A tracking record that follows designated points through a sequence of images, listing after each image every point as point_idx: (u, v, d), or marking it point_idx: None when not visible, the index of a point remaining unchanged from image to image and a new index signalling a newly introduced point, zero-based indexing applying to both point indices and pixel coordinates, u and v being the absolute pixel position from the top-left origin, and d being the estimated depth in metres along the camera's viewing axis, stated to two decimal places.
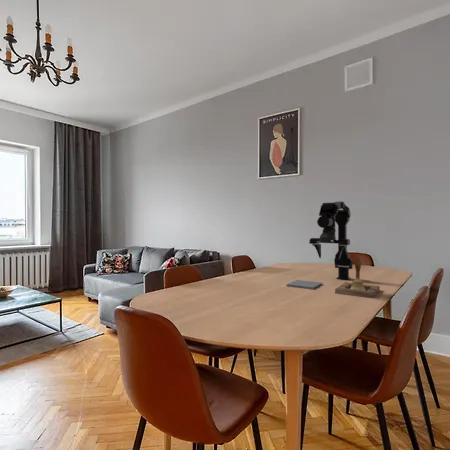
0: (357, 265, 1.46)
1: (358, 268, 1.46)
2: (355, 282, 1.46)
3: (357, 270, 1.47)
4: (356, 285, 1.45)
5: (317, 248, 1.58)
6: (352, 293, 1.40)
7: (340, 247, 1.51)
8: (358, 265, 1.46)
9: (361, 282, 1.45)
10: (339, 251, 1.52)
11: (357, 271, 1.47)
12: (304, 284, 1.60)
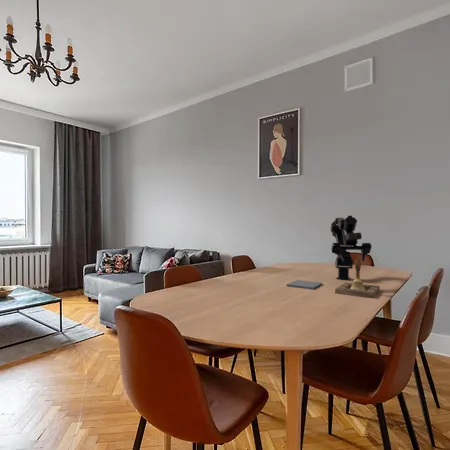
0: (357, 265, 1.46)
1: (358, 268, 1.46)
2: (355, 282, 1.46)
3: (357, 270, 1.47)
4: (356, 285, 1.45)
5: (341, 251, 1.58)
6: (352, 293, 1.40)
7: (365, 249, 1.57)
8: (358, 265, 1.46)
9: (361, 282, 1.45)
10: (363, 253, 1.56)
11: (357, 271, 1.47)
12: (304, 284, 1.60)
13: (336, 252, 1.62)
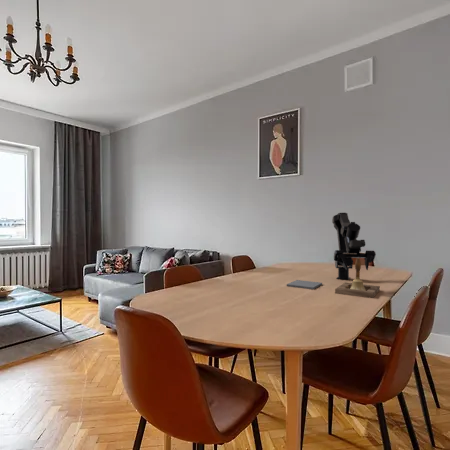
0: (357, 265, 1.46)
1: (358, 268, 1.46)
2: (355, 282, 1.46)
3: (357, 270, 1.47)
4: (356, 285, 1.45)
5: (343, 259, 1.52)
6: (352, 293, 1.40)
7: (368, 256, 1.50)
8: (358, 265, 1.46)
9: (361, 282, 1.45)
10: (367, 261, 1.50)
11: (357, 271, 1.47)
12: (304, 284, 1.60)
13: (339, 260, 1.55)
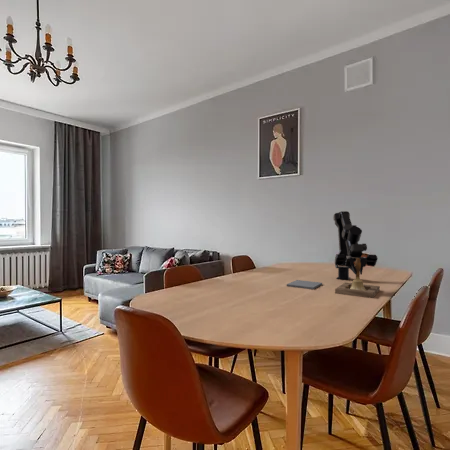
0: (357, 265, 1.46)
1: (358, 268, 1.46)
2: (355, 282, 1.46)
3: (357, 270, 1.47)
4: (356, 285, 1.45)
5: (352, 263, 1.49)
6: (352, 293, 1.40)
7: (362, 261, 1.48)
8: (358, 265, 1.46)
9: (361, 282, 1.45)
10: (361, 265, 1.47)
11: (357, 271, 1.47)
12: (304, 284, 1.60)
13: (347, 264, 1.52)
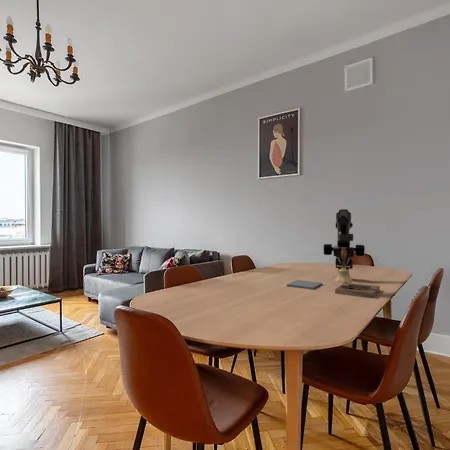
0: (342, 255, 1.48)
1: (343, 258, 1.48)
2: (340, 271, 1.48)
3: (343, 260, 1.49)
4: (341, 274, 1.48)
5: (339, 253, 1.51)
6: (352, 293, 1.40)
7: (349, 251, 1.49)
8: (343, 255, 1.48)
9: (346, 271, 1.47)
10: (347, 255, 1.49)
11: (343, 261, 1.49)
12: (304, 284, 1.60)
13: (335, 254, 1.54)
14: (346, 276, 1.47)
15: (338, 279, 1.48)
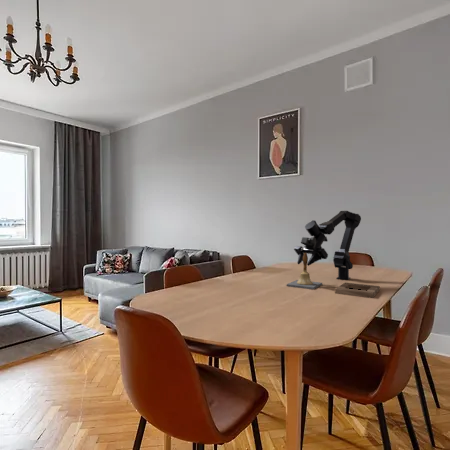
0: (303, 259, 1.62)
1: (303, 262, 1.62)
2: (300, 274, 1.62)
3: (303, 263, 1.62)
4: (300, 277, 1.62)
5: (299, 254, 1.66)
6: (352, 293, 1.40)
7: (313, 253, 1.59)
8: (303, 259, 1.62)
9: (304, 274, 1.60)
10: (311, 257, 1.59)
11: None
12: None
13: None
14: (303, 279, 1.60)
15: (298, 281, 1.63)
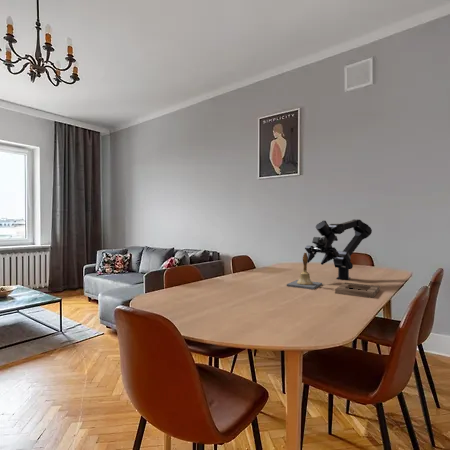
0: (303, 259, 1.62)
1: (303, 262, 1.62)
2: (300, 274, 1.62)
3: (303, 263, 1.62)
4: (300, 277, 1.62)
5: (309, 253, 1.72)
6: (352, 293, 1.40)
7: (326, 252, 1.63)
8: (303, 259, 1.61)
9: (304, 274, 1.60)
10: (324, 256, 1.63)
11: None
12: None
13: None
14: (303, 279, 1.60)
15: (298, 281, 1.63)
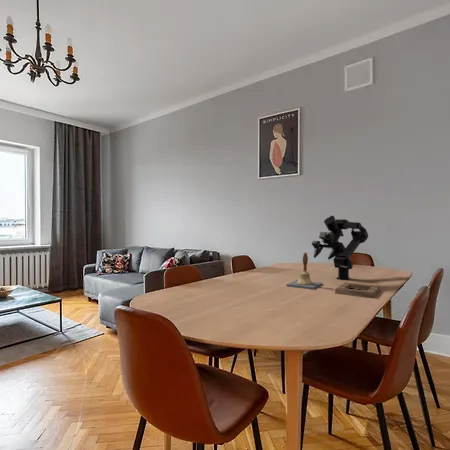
0: (303, 259, 1.62)
1: (303, 262, 1.62)
2: (300, 274, 1.62)
3: (303, 263, 1.62)
4: (300, 277, 1.62)
5: (315, 248, 1.73)
6: (352, 293, 1.40)
7: (333, 247, 1.63)
8: (303, 259, 1.61)
9: (304, 274, 1.60)
10: (331, 251, 1.64)
11: None
12: None
13: None
14: (303, 279, 1.60)
15: (298, 281, 1.63)
